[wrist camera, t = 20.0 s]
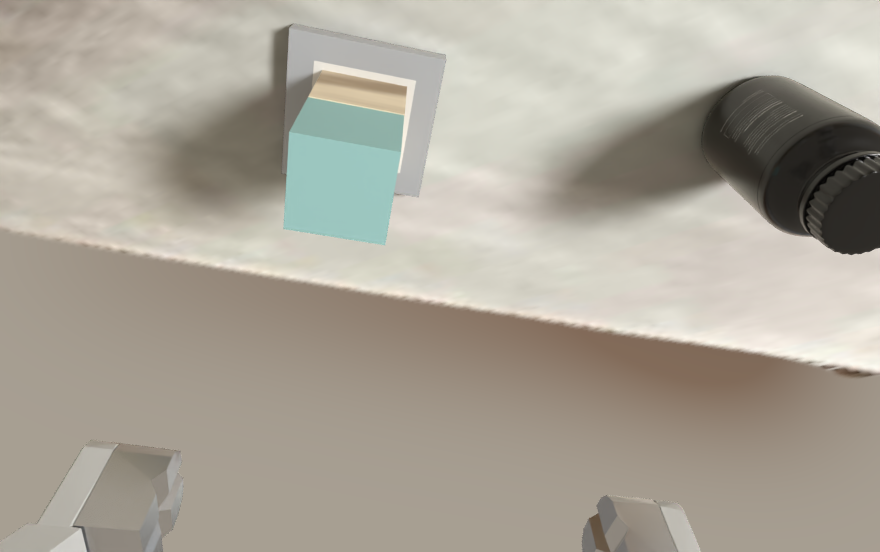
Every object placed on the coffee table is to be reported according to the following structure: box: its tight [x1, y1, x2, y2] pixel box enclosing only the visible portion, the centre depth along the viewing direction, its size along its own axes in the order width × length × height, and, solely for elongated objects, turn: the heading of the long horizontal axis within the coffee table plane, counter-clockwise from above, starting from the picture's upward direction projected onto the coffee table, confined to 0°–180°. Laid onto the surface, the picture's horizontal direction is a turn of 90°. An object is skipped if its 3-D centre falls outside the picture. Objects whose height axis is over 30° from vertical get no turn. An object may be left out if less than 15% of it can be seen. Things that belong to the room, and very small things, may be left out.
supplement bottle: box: [702, 76, 880, 255], centre depth 33 cm, size 7×7×12 cm
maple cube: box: [308, 70, 407, 116], centre depth 33 cm, size 5×5×5 cm
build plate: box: [282, 24, 446, 197], centre depth 36 cm, size 9×9×1 cm
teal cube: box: [284, 97, 404, 245], centre depth 29 cm, size 5×5×5 cm
